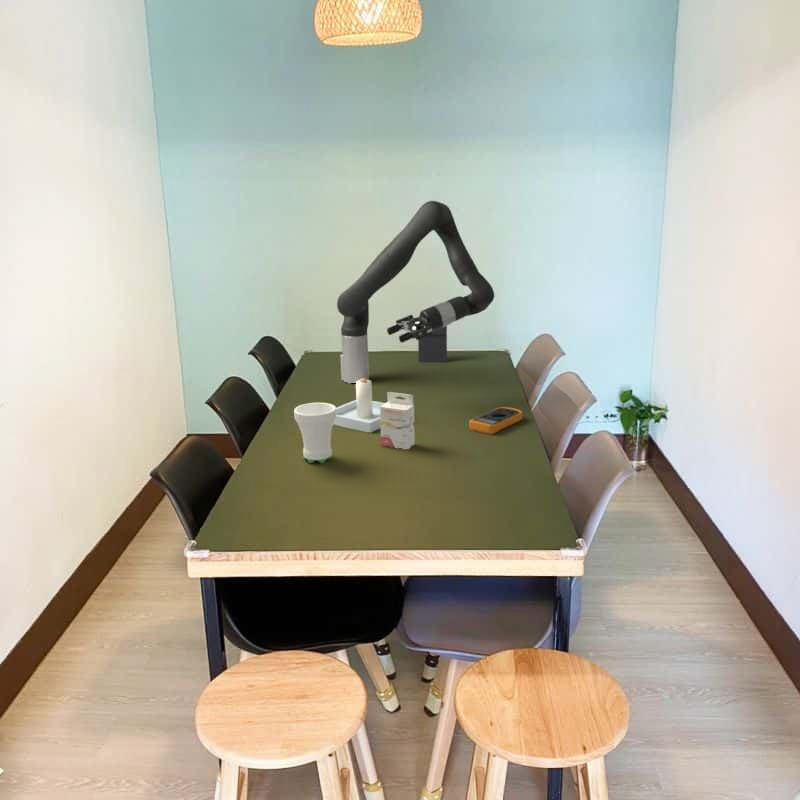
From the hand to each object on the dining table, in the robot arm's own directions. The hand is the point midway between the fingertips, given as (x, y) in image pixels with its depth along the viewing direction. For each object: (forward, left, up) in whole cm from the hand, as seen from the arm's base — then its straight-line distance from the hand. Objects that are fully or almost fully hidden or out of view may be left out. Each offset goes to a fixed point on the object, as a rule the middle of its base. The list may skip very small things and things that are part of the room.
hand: (393, 335), depth 246 cm
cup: (+9, -47, -24) cm, 54 cm away
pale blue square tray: (-1, -14, -24) cm, 28 cm away
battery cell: (-2, -14, -23) cm, 27 cm away
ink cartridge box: (+21, -27, -24) cm, 42 cm away
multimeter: (+35, +3, -24) cm, 43 cm away
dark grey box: (-23, +57, -24) cm, 66 cm away
